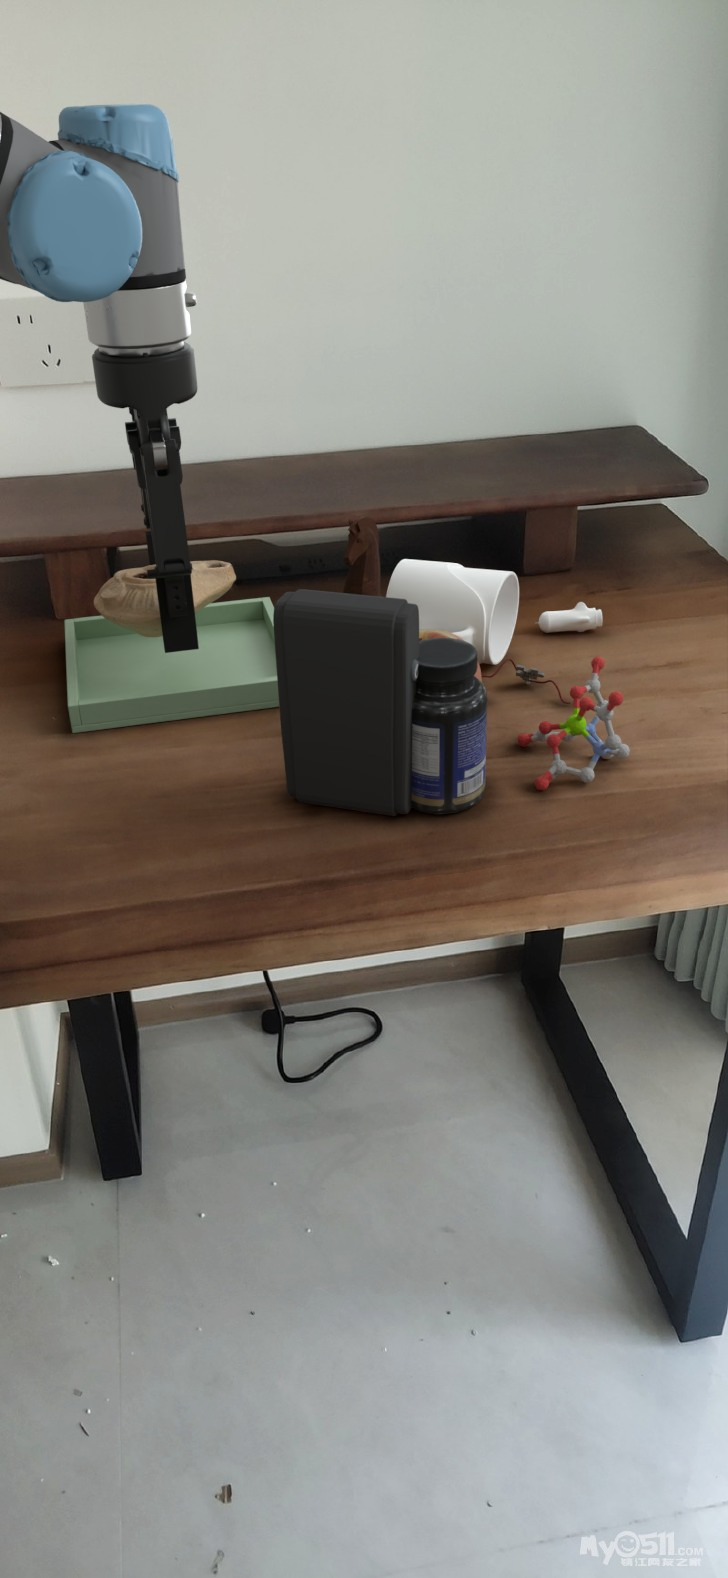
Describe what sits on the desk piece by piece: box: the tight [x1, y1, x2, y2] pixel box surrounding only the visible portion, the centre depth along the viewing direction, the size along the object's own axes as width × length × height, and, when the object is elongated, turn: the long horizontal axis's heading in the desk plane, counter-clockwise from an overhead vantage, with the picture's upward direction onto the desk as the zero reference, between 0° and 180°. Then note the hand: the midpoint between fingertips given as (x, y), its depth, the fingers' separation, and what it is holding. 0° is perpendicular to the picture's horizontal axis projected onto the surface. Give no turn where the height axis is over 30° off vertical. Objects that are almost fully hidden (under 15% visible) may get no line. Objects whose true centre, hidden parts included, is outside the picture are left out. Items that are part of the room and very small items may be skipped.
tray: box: [64, 596, 280, 734], centre depth 101 cm, size 19×18×2 cm
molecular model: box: [517, 656, 631, 791], centre depth 84 cm, size 7×8×7 cm
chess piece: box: [342, 515, 383, 597], centre depth 107 cm, size 5×5×10 cm
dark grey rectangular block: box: [273, 588, 419, 817], centre depth 79 cm, size 9×4×15 cm, turn 73°
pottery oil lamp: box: [93, 559, 237, 638], centre depth 98 cm, size 9×12×7 cm
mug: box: [385, 558, 520, 666], centre depth 99 cm, size 12×9×8 cm
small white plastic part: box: [536, 601, 603, 634], centre depth 106 cm, size 4×6×3 cm, turn 66°
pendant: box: [481, 658, 571, 705], centre depth 96 cm, size 8×4×3 cm
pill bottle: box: [411, 638, 488, 815], centre depth 80 cm, size 6×6×11 cm
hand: (175, 625), depth 99 cm, fingers closed on pottery oil lamp, 9 cm apart
